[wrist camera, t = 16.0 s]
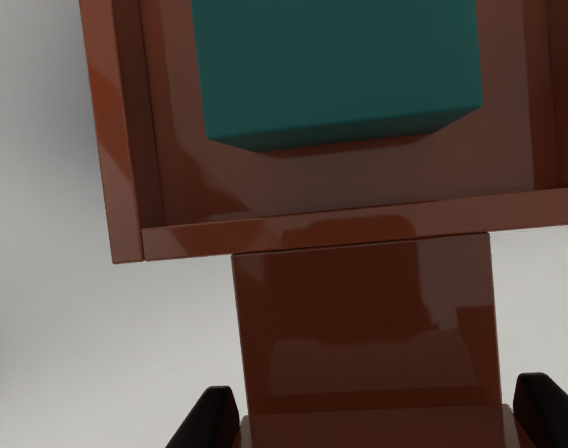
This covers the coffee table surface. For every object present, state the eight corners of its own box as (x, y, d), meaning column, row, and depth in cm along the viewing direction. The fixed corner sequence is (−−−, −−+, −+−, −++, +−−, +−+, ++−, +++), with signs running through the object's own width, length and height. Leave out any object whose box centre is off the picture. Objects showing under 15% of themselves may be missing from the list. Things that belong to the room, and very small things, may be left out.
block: (254, 153, 12) (205, 139, 8) (234, -31, 11) (173, -142, 8) (436, 132, 11) (484, 107, 7) (421, -61, 11) (461, -197, 7)
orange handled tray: (168, 404, 13) (-5, 621, 7) (97, -176, 12) (-186, -575, 6) (593, 384, 12) (883, 627, 5) (553, -270, 11) (850, -924, 4)
